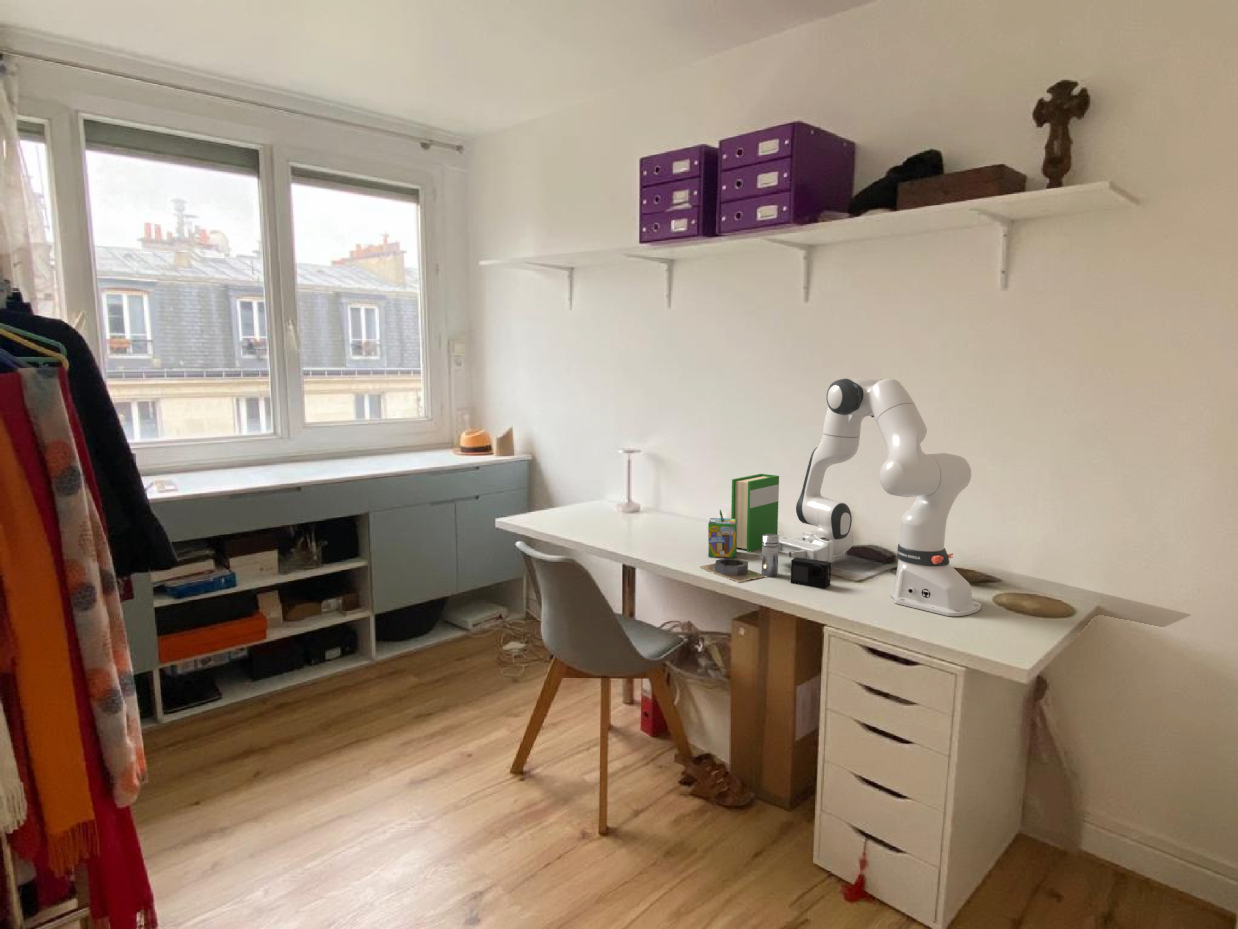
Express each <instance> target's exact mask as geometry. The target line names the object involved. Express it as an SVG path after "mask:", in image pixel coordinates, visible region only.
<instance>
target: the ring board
mask: <svg viewBox="0 0 1238 929" xmlns="http://www.w3.org/2000/svg"><path fill="white" fill-rule="evenodd" d="M700 568H703V569H704V570H703V569H702V570H703V571H706V570H707V571H706V572H708V573H711V572H713V573H712V574H714V573H715V574H714V575H717V576H720V575H721V576H720V577H722V576H723V578H725V577H726V579H728V578H730V579H729V580H731V579H732V580H731V581H733V580H735V581H734V582H736V581H737V583H739V582H740V583H743V582H742V581H745V582H747V581H746V580H749V581H751V580H750V579H754V578H759V579H762V577H763V578H765V575H763V574H761V573H760V572H756V571H753V570H750V569H749V561H746V560H743V559H740V558H731V557H724V558H720V559H716V560H715V562H714V563H711V564H707V565H701V566H699V569H700ZM754 580H755V579H754Z"/></svg>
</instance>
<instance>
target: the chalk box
mask: <svg viewBox="0 0 1238 929" xmlns="http://www.w3.org/2000/svg"><path fill="white" fill-rule="evenodd" d="M719 515H720V516H719V518H718V517H716V518H715V517H710V519H709V521H708V526H707V531H708V535H707V536H708V553H707V557H708V558H731V559H737V549H738V547H737V519H731V518H727V517H724V516H723V512H722V510H721V509H719Z"/></svg>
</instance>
